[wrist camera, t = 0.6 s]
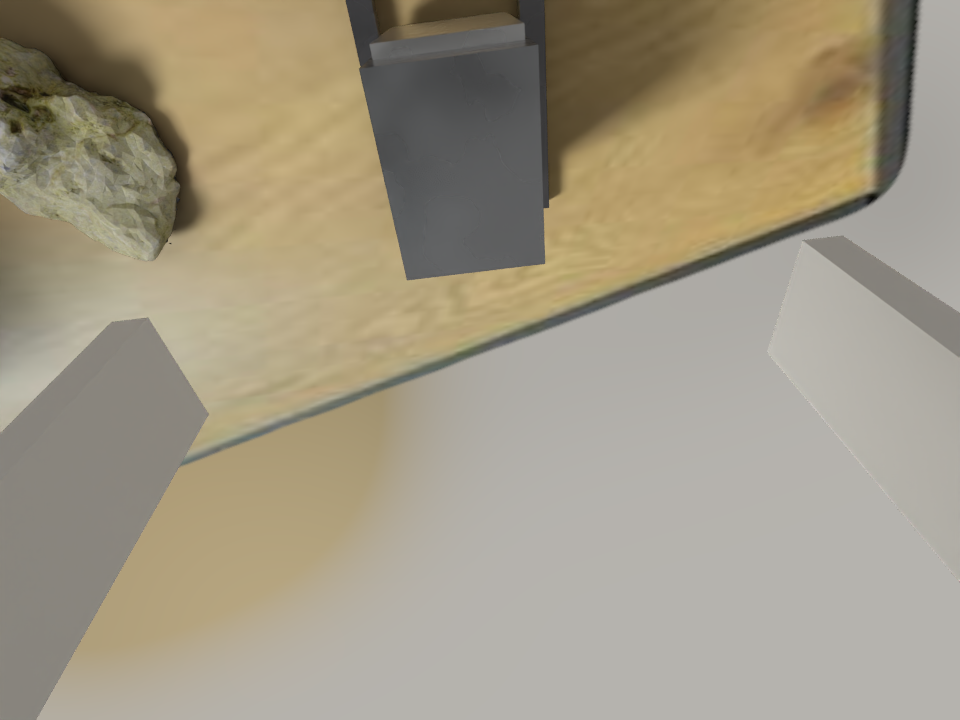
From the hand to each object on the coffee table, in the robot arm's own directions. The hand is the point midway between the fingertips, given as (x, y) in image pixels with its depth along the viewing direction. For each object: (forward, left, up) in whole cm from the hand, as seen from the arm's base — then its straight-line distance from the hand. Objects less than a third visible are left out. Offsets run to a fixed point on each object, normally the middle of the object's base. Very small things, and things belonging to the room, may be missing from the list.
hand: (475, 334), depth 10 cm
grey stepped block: (0, 0, -22) cm, 22 cm away
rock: (-22, +1, -22) cm, 31 cm away
